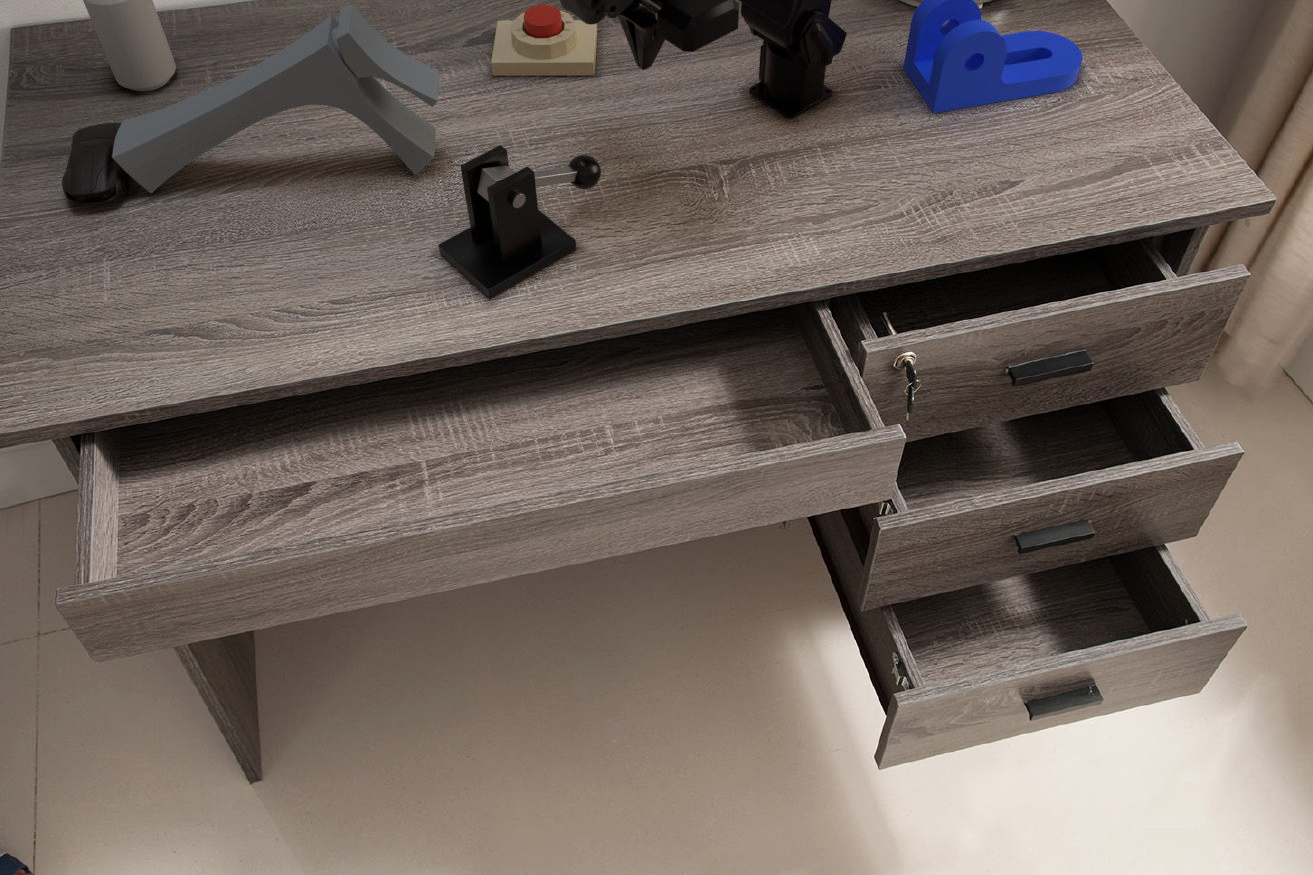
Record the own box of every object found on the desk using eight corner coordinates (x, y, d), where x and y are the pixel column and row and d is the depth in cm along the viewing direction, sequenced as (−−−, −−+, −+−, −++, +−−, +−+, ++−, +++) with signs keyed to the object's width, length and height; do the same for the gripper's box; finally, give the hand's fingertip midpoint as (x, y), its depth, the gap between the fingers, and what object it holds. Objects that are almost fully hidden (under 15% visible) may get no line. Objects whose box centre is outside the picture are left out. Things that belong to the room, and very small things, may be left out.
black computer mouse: (141, 134, 127) (128, 103, 124) (127, 211, 119) (113, 179, 116) (83, 140, 126) (69, 109, 123) (66, 217, 119) (50, 186, 116)
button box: (597, 33, 137) (595, 5, 135) (594, 76, 132) (592, 47, 130) (499, 34, 137) (495, 5, 135) (492, 76, 132) (488, 47, 130)
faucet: (230, 268, 128) (474, 153, 119) (109, 156, 116) (371, 19, 107) (238, 229, 132) (475, 114, 123) (121, 116, 120) (375, -19, 111)
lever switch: (525, 207, 119) (515, 124, 111) (576, 250, 115) (570, 166, 107) (439, 254, 115) (423, 170, 107) (489, 299, 111) (476, 216, 103)
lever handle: (582, 177, 118) (590, 147, 116) (603, 193, 116) (611, 163, 115) (472, 193, 110) (479, 161, 108) (493, 211, 108) (500, 179, 106)
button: (563, 19, 134) (562, 4, 132) (561, 40, 131) (560, 25, 130) (526, 19, 134) (525, 4, 132) (523, 40, 131) (522, 25, 130)
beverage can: (124, 101, 130) (82, -1, 121) (111, 70, 134) (69, -32, 124) (184, 84, 132) (147, -18, 123) (170, 54, 135) (133, -48, 126)
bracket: (933, 113, 128) (948, 37, 121) (903, 68, 133) (916, -8, 126) (1091, 86, 131) (1115, 10, 124) (1055, 42, 136) (1076, -33, 129)
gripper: (493, -109, 101) (512, 56, 113) (639, -16, 92) (643, 152, 104) (598, -151, 106) (606, 11, 118) (747, -67, 97) (739, 100, 109)
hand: (644, 67), depth 112 cm, fingers closed
